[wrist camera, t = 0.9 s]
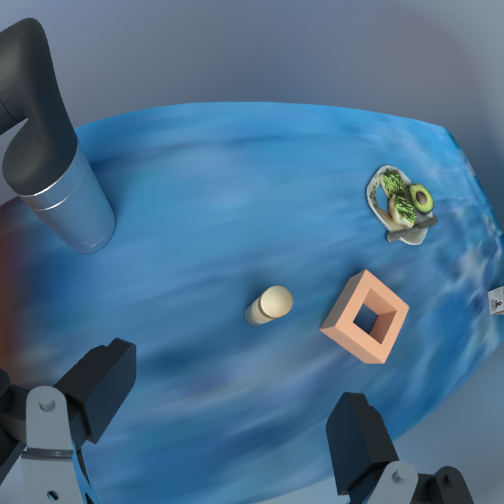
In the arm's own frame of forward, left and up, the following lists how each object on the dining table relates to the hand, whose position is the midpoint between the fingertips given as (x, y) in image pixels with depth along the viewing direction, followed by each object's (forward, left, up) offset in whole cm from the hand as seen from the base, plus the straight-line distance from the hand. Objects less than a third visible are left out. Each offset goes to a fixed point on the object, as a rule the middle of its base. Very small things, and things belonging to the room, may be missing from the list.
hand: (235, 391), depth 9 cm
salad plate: (+13, +45, -28) cm, 54 cm away
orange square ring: (+15, +17, -27) cm, 35 cm away
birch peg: (+1, +8, -27) cm, 28 cm away
